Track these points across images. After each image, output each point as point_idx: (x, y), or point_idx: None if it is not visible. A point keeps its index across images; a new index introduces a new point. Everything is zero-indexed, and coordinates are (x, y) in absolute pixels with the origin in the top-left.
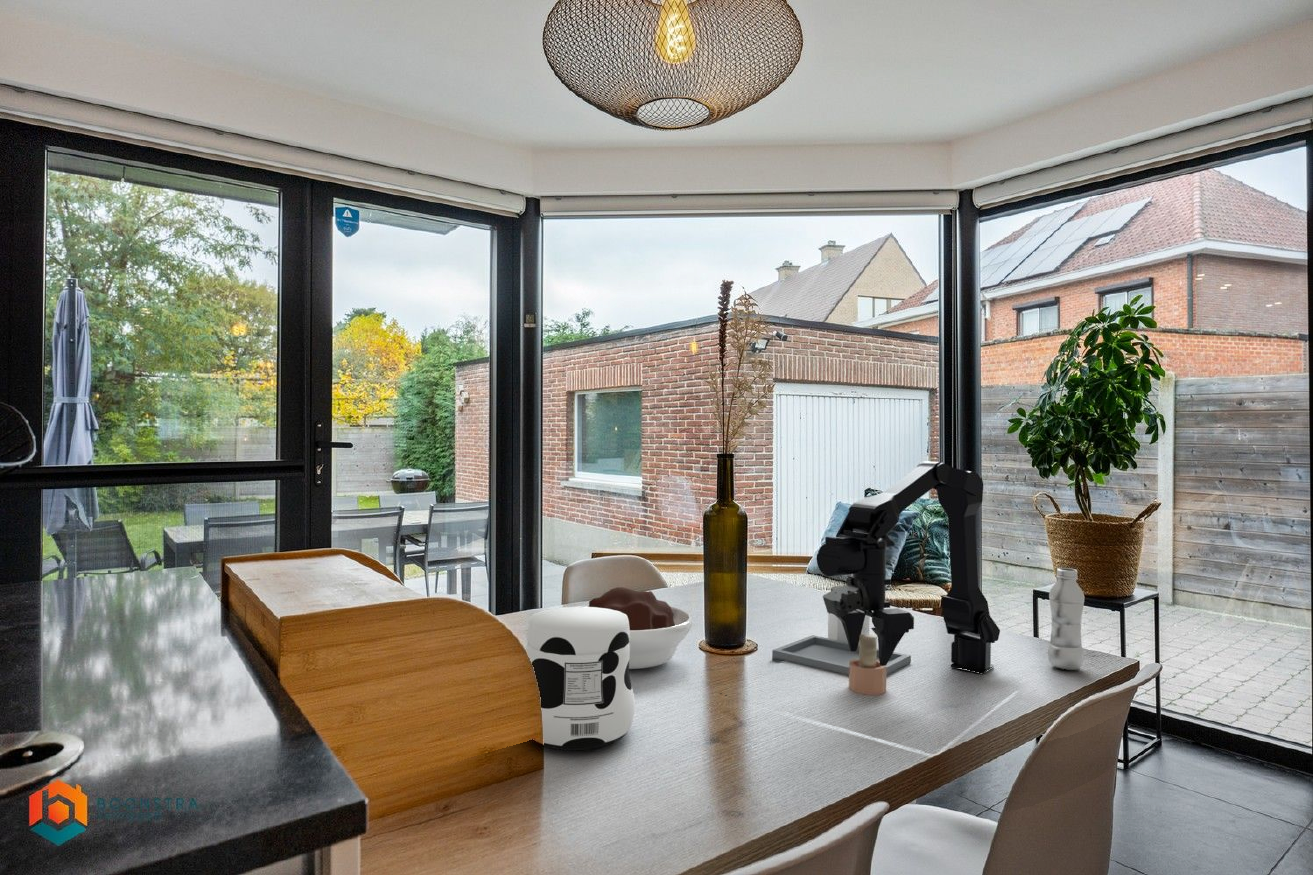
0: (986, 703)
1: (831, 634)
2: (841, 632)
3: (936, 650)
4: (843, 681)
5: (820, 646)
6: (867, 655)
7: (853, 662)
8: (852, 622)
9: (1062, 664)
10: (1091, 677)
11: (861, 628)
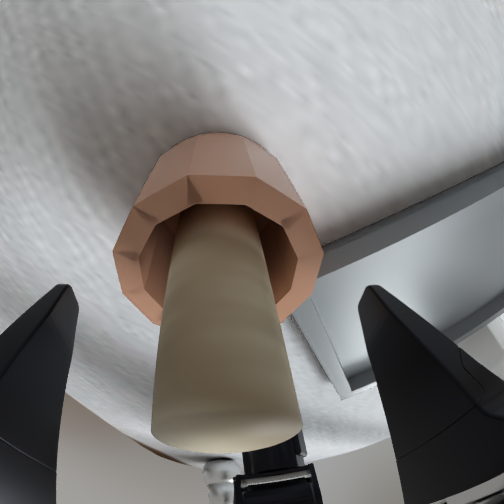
0: (89, 376)
1: (500, 327)
2: (489, 343)
3: (357, 416)
4: (349, 189)
5: (502, 288)
6: (170, 297)
7: (272, 217)
8: (445, 439)
9: (210, 465)
10: (187, 460)
11: (392, 430)
